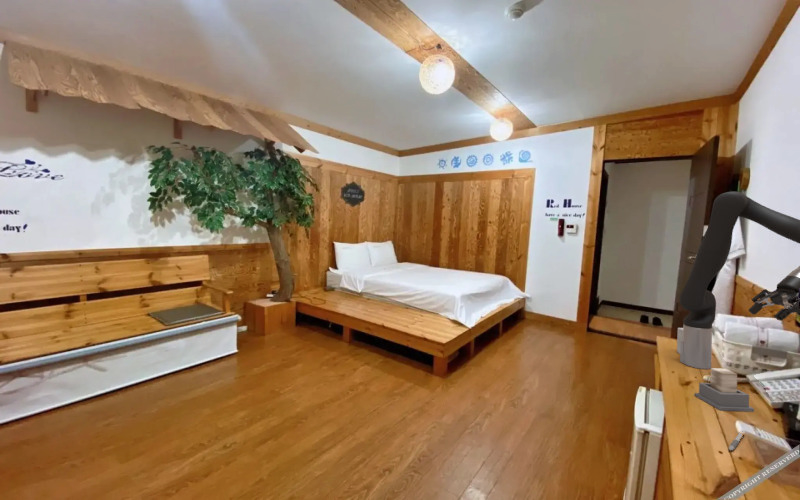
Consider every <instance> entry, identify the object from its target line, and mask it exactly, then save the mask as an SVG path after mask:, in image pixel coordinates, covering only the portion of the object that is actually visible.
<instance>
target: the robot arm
mask: <svg viewBox="0 0 800 500" xmlns="http://www.w3.org/2000/svg"><path fill="white" fill-rule="evenodd" d="M739 218H743V219H746V220H748V221H752V222H754V223H757V224H758V225H760V226H762V227H764V228H766V229H768V230H769V231H770V232H773V233H774V234H776V235H779V236H781V237H783V238H786V239H788V240H789V241H792V242H795V243H796V244H800V219H798V218H796V217H792V216H791V215H789V214H788V215H787V214H784V213H782V212H779V211H776V210H774V209H771V208H769V207H767V206H765V205H763V204H761V203H759V202H757V201H756V200H754V199H752V198H750V197H749V196H747V195H746V194H744V193H742V192H740V191H727V192H724V193H720V194H719V195H718V196H716V198H715V199H714V201H713V204H712V209H711V215H710V219H709V223H708V226H707V228H706V231H705V232H704V235H703V237H702V239H701V241H700V244H699V246H698V250H697V252H696V255H695V259H694V263H693V265H692V267H691V270H690V273H689V276H688V278H687V281H686V282H685V285H684V286H683V288H682V290H681V293H680V295H679V304H680V306H681V307H682V308H683V309H684V310H686V311H688V312H689V313H688V314H687V315H686V316H685V317H684V318H683V326H682V328H683V341H681V345H680V354H679V355H680V356H679V357H680V358H679V361H680V363H682V364H684V365H686V366H688V367H692V368H696V369H700V370H701V369H702V370H709V369H710V370H711V368H712V353H713V351H712V350H713V349H712V348H713V347H712V345H713V343H712V342H713V341H712V340H713V334H712V333H713V323H714V322H715V320H716V313H717V311H716V310H717V300H716V297H715V295H714V293H713V292H712V291H710V290H708V287H709V284H710V283H711V281H712V280H713V278H715V277H716V276H717V275H718V273H719V272H720V271H721V270H722V269H723V267H724V266H725V264H726V262H727V260H728V257H729V255H730V252H731V247H732V242H733V241H732V240H733V232H734V228H735V226H736V224H737V222H738V219H739ZM799 288H800V265H799V266H798V267H797V268H794V270H792V271H791V272H790V273H788V274H787V275H786V276H785V277H784V278H783V279H782V280H781V281H780V282H779V283H777V285H776V289H775V290H773V291H770V290H768V289H763V290H761V291H760V292H759V293H758V294H756V295H755V296H754V297H753V298H752V299H751V301H752V302H753V303H754V304H753V305H751V307H750V308H749V309H748V312H750V314H751V315H756V314H758V313H759V312H760V311H761V310H763V308H765V307H767V306H770V307H771V306H774V305H775V306H776V305H777V306H782V307H783V308H781V309H780V310H779V311H777V312H776V313H775V314H774V318H775V319H776V320H777V321H783V320H785V319H786V318H787V317H789V315H790V314H792V315H793V314H794V313H797V314H800V306H799V302H800V298H799V300H798V297H799Z"/></svg>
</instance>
